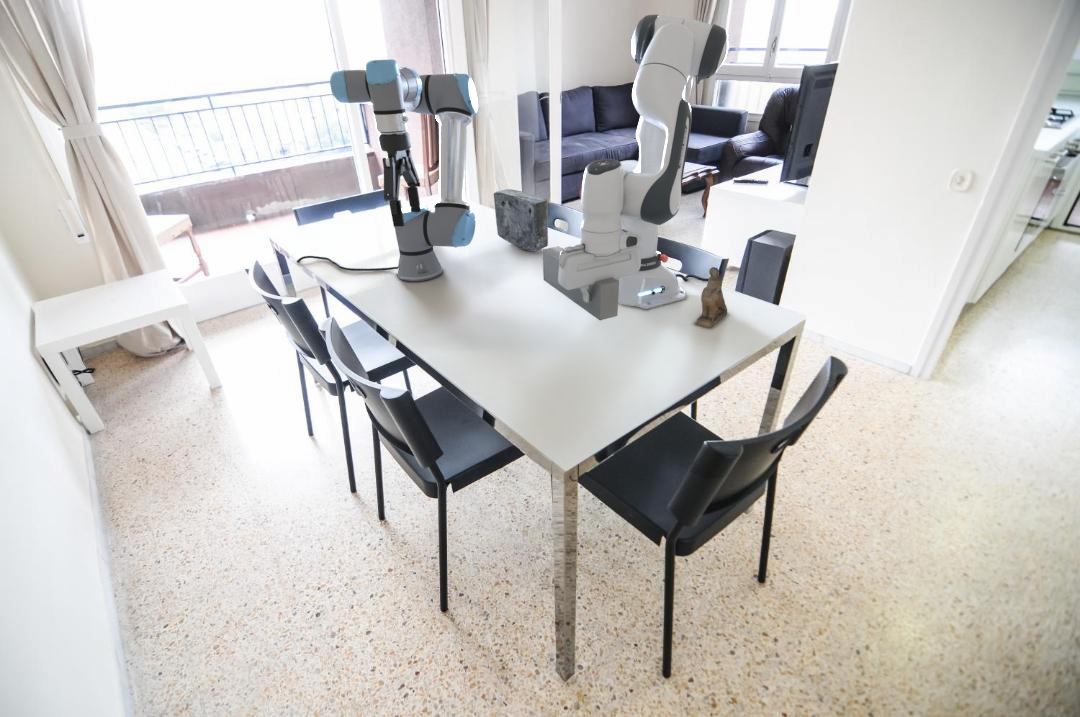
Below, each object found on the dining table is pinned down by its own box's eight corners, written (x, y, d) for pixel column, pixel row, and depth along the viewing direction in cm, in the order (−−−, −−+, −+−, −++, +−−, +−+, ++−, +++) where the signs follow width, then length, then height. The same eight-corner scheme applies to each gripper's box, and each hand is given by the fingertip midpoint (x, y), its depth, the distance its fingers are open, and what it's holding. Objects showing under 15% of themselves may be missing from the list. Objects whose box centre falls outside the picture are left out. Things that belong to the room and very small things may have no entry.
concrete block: (553, 252, 189) (552, 199, 179) (534, 258, 185) (532, 204, 175) (514, 236, 208) (511, 187, 198) (496, 241, 204) (492, 191, 193)
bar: (543, 280, 134) (542, 249, 130) (559, 276, 136) (558, 246, 132) (599, 320, 113) (601, 285, 108) (617, 315, 115) (619, 281, 110)
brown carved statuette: (709, 335, 136) (713, 280, 124) (691, 329, 139) (693, 274, 128) (730, 313, 142) (736, 258, 130) (712, 307, 145) (716, 253, 133)
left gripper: (389, 139, 111) (406, 232, 122) (423, 125, 132) (434, 206, 143) (357, 140, 112) (376, 232, 123) (396, 126, 133) (409, 206, 144)
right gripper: (566, 253, 102) (566, 313, 109) (647, 236, 110) (642, 293, 117) (552, 244, 107) (553, 303, 114) (630, 229, 114) (626, 284, 122)
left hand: (408, 218), depth 133 cm, fingers open, 13 cm apart
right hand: (599, 298), depth 115 cm, fingers closed on bar, 5 cm apart
